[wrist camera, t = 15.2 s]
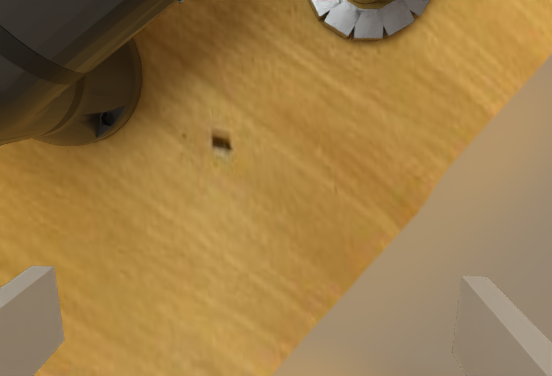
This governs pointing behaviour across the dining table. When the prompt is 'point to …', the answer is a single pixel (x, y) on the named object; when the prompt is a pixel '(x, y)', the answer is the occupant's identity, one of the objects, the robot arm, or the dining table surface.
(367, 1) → the cylinder
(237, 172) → the dining table surface
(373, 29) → the ring
